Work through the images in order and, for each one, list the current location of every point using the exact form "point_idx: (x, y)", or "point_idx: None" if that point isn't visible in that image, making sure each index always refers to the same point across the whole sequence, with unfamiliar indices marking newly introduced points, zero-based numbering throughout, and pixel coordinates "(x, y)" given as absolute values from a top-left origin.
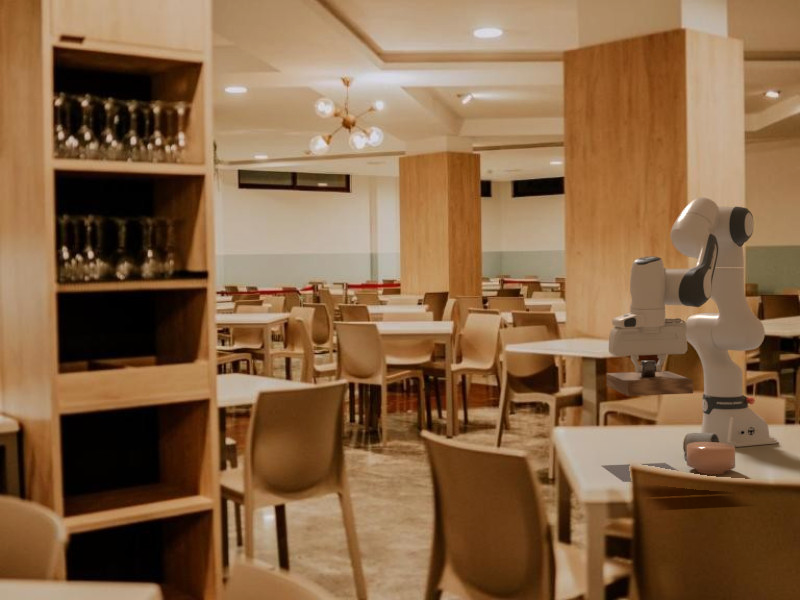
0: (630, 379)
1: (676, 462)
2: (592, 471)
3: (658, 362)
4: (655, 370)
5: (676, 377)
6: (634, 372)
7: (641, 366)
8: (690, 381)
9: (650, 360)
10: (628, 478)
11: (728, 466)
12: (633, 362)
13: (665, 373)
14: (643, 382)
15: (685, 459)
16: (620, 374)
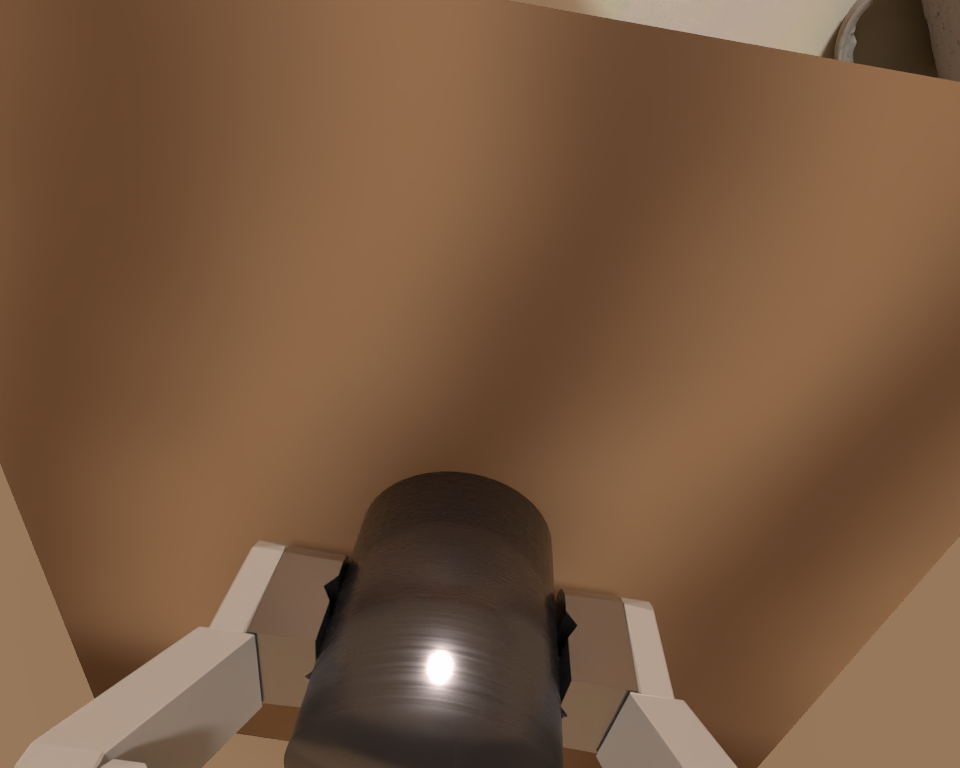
0: (160, 628)
1: (784, 14)
2: None
3: (647, 763)
4: None
5: (699, 700)
6: (473, 44)
7: (295, 699)
8: None
9: (522, 753)
10: None
11: None
12: (134, 703)
13: (891, 427)
14: (256, 727)
15: (841, 26)
16: (97, 216)
